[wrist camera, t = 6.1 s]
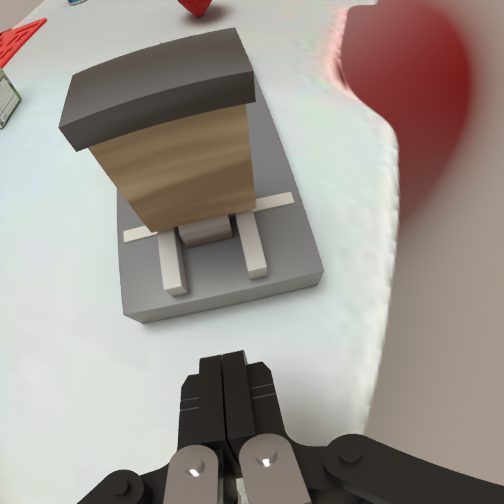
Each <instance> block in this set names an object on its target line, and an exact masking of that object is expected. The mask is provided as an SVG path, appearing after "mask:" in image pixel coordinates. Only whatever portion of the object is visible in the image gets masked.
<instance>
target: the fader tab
mask: <svg viewBox="0 0 504 504" xmlns="http://www.w3.org/2000/svg"><path fill="white" fill-rule="evenodd" d="M254 102H256V97H255V84H254V71H253V68H252V66H251V64H250V61H249V59H248V56H247V54H246V52H245V49H244V47H243V45H242V42H241V40H240V38H239V35H238V33H237V31H236V29H235V28H229V29H223V30H218V31H213V32H208V33H203V34H198V35H194V36H189V37H185V38H181V39H177V40H173V41H169V42H166V43H162V44H158V45H155V46H151V47H148V48H145V49H141V50H138V51H135V52H132V53H129V54H126V55H123V56H120V57H117V58H114V59H112V60H109V61H106V62H104V63H101V64H98V65H96V66H93V67H91V68H88V69H86V70H83V71H81V72H79V73H76V74H74V75H73V76H72V80H71V83H70V86H69V90H68V93H67V96H66V100H65V104H64V107H63V111H62V115H61V119H60V123H59V129H60V131H61V132H62V133H63V135H64V136H65V137H66V139H67V140H68V141H69V143H70V144H71V145H72V147H73V148H74V149H75V151H76V152H77V151H80V150H83V149H85V148H88V149H89V150H90V151H91V153H92V154H93V156H94V157H95V158H96V160H97V161H98V163H99V164H100V165H101V167H102V168H103V170H104V171H105V172H106V174H107V175H108V176H109V178H110V179H111V181H112V182H113V183H114V185H115V186H116V187H117V189H118V190H119V191H120V193H121V194H122V195H123V197H124V198H125V199H126V201H127V202H128V203H129V205H130V206H131V207H132V209H133V210H134V211H135V212H136V214H137V215H138V216H139V218H140V219H141V220H142V222H143V223H144V224H145V225H146V227H147V228H148V229H149V231H150V232H151V233H153V232H157V231H161V230H165V229H169V228H173V227H177V226H178V228H179V235H180V237H181V238H182V240H183V241H184V243H185V245H186V246H187V247H192V246H196V245H200V244H204V243H209V242H213V241H217V240H222V239H226V238H231V237H233V233H232V228H231V224H230V219H229V214H232V213H236V212H241V211H245V210H250V209H254V208H256V199H255V189H254V179H253V169H252V159H251V149H250V140H249V130H248V120H247V111H246V104H249V103H254Z"/></svg>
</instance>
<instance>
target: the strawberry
mask: <svg viewBox="0 0 504 504" xmlns="http://www.w3.org/2000/svg"><path fill="white" fill-rule="evenodd" d="M211 1H212V0H178V2H179V3H180V4H182V5H183V6H184V7H185V8H186V9H187V10H188V11H190V12H191V13H193V14H194V15H195V16H196V17H201V16H203V14H204V13H205V11H206V9H207V8H208V6H209V5H210V3H211Z"/></svg>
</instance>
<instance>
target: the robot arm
mask: <svg viewBox="0 0 504 504" xmlns="http://www.w3.org/2000/svg"><path fill="white" fill-rule="evenodd" d="M236 478H243V480H244V484H245V489H246V493H247V498H248V502H249V504H504V486H502V485H498V484H494V483H491V482H488V481H484V480H481V479H477V478H474V477H471V476H467V475H464V474H461V473H458V472H455V471H452V470H449V469H447V468H444V467H441V466H438V465H435V464H432V463H430V462H427V461H424V460H422V459H419V458H416V457H414V456H411V455H409V454H406V453H404V452H401V451H399V450H396V449H394V448H391V447H389V446H387V445H384V444H382V443H380V442H377V441H375V440H373V439H370V438H368V437H366V436H363V435H359V434H347V435H343V436H340V437H338V438H336V439H334V440H333V441H332V442H331V443H330V444H329V445H328V446H304V445H301V444H298V443H296V442H294V441H293V440H291V439H290V438H289V437H288V435H287V434H286V432H285V429H284V425H283V420H282V416H281V412H280V408H279V404H278V399H277V395H276V391H275V387H274V383H273V378H272V374H271V370H270V369H269V368H268V367H267V366H266V365H265V364H264V363H263V362H257V363H253V364H248V363H247V359H246V356H245V352H244V350H241V351H237V352H232V353H227V354H223V355H216V356H211V357H206V358H201V359H200V363H199V374H195V375H189V376H188V377H187V379H186V380H185V382H184V384H183V385H182V387H181V402H180V415H179V430H178V447H177V451H176V453H175V454H174V455H173V457H172V458H171V460H170V462H169V463H168V464H167V465H166V466H164V467H162V468H160V469H158V470H155V471H152V472H149V473H146V474H143V475H140V476H139V475H138V474H137V473H135V472H133V471H131V470H118V471H115V472H112V473H111V474H109V475H108V476H107V477H105V478H104V479H103V480H102V481H101V482H100V483H99V484H98V485H97V486H96V487H95V488H94V489H93V490H91V491H90V492H89V493H88V494H87V495H86V496H85V497H84V498H83V499H82V500H80V501H79V502H78V503H77V504H241V496H240V493H239V492H238V490H237V485H236Z"/></svg>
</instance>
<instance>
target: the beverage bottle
mask: <svg viewBox="0 0 504 504" xmlns="http://www.w3.org/2000/svg"><path fill="white" fill-rule="evenodd" d="M83 1H85V0H68V2H69V4H71V5H74V4H78V3H81V2H83Z"/></svg>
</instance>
